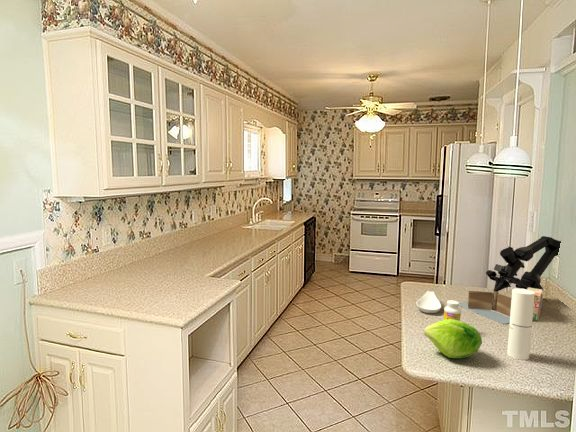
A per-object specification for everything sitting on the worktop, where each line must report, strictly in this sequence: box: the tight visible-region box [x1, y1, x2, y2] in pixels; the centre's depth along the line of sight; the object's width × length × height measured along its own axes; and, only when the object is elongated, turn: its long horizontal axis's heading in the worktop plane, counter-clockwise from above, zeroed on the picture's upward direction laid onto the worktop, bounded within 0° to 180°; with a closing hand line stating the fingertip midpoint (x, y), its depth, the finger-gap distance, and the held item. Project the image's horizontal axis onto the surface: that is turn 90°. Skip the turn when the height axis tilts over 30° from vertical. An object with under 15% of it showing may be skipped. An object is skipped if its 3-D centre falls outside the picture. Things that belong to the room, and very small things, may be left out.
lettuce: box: [423, 319, 483, 359], centre depth 145 cm, size 15×20×14 cm
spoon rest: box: [415, 290, 442, 314], centre depth 197 cm, size 24×12×7 cm, turn 158°
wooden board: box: [467, 290, 493, 310], centre depth 194 cm, size 2×11×8 cm, turn 79°
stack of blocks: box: [527, 287, 544, 321], centre depth 190 cm, size 21×6×12 cm, turn 143°
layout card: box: [458, 301, 510, 325], centre depth 192 cm, size 16×29×1 cm, turn 20°
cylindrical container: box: [506, 287, 535, 361], centre depth 144 cm, size 7×7×25 cm
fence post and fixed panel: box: [492, 290, 512, 317], centre depth 187 cm, size 2×15×10 cm, turn 20°
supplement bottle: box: [443, 299, 462, 321], centre depth 168 cm, size 7×7×13 cm
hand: (494, 291), depth 199 cm, fingers closed
